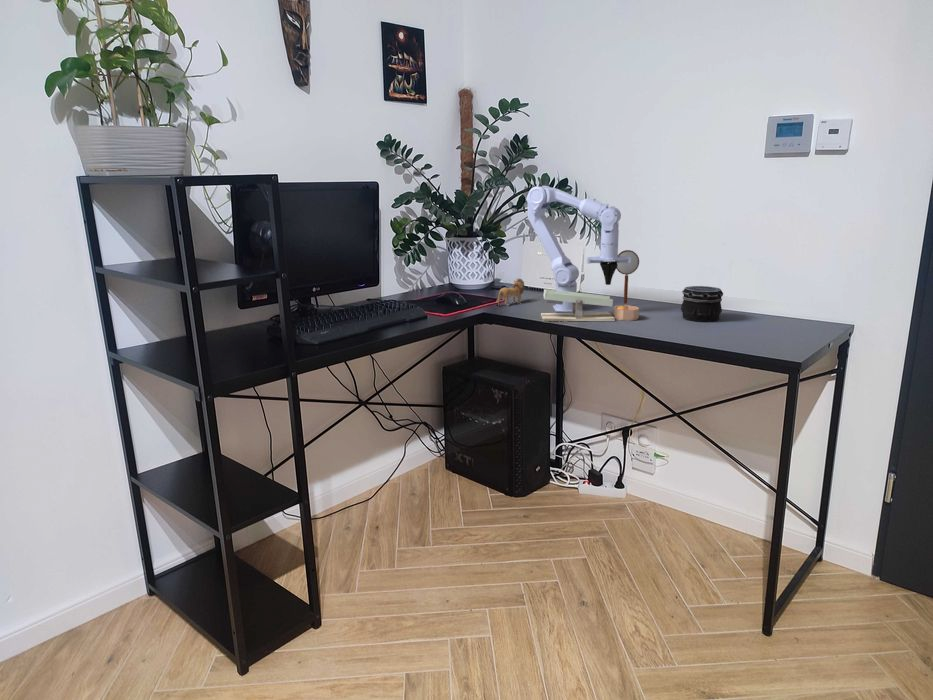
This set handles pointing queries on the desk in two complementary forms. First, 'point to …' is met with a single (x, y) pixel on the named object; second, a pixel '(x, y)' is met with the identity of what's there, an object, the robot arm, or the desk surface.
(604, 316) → the stand
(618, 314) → the octagonal wooden bowl
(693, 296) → the container
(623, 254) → the magnifying glass
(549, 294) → the trough
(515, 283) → the lion figurine
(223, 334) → the desk surface
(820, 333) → the desk surface
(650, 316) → the desk surface
